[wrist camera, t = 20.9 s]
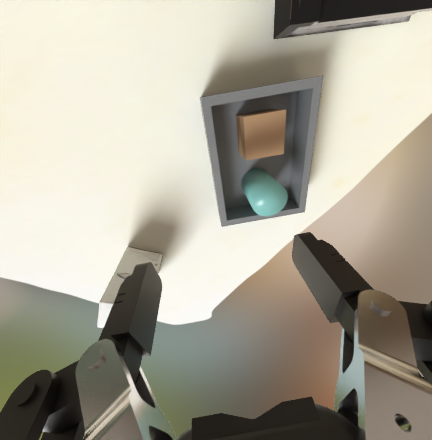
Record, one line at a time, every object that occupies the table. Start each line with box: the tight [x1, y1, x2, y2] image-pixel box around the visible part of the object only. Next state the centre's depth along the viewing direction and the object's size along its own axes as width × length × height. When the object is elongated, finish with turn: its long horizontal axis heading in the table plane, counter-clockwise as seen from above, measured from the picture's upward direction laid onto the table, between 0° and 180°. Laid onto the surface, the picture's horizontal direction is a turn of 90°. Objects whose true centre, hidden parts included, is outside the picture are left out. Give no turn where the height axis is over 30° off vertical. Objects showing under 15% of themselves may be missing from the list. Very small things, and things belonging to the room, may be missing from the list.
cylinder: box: [241, 168, 288, 216], centre depth 28 cm, size 5×5×7 cm
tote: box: [200, 76, 323, 227], centre depth 27 cm, size 18×14×5 cm
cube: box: [236, 109, 286, 160], centre depth 24 cm, size 5×5×5 cm
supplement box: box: [97, 247, 163, 328], centre depth 34 cm, size 7×7×13 cm
